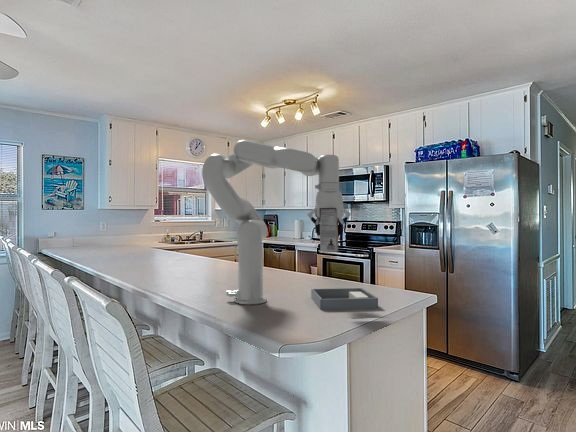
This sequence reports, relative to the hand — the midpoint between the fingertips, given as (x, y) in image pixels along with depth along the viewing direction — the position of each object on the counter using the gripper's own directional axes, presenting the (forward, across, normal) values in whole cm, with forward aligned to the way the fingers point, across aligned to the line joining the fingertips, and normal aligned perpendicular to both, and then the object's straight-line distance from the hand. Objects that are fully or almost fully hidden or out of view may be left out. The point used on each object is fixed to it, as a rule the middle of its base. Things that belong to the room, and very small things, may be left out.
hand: (329, 234), depth 137 cm
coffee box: (+6, 0, 0) cm, 6 cm away
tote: (+26, +4, -2) cm, 27 cm away
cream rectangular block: (+25, +10, -2) cm, 27 cm away
